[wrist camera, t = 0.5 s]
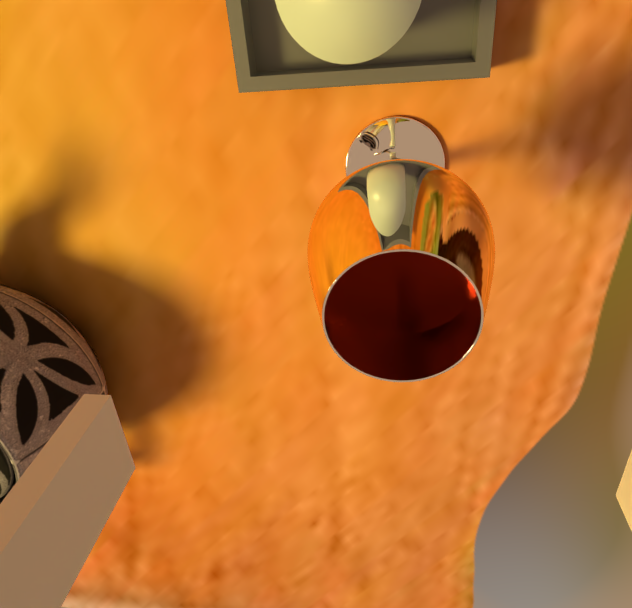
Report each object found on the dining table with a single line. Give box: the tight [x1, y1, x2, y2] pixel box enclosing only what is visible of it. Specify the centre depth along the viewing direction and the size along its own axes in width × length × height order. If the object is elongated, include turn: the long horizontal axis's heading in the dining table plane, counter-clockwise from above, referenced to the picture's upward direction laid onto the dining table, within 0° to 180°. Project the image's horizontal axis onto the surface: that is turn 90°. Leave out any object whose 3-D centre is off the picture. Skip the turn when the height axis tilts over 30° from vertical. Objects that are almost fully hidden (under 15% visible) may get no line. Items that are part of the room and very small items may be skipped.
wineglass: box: [307, 116, 495, 382], centre depth 26 cm, size 8×8×18 cm
